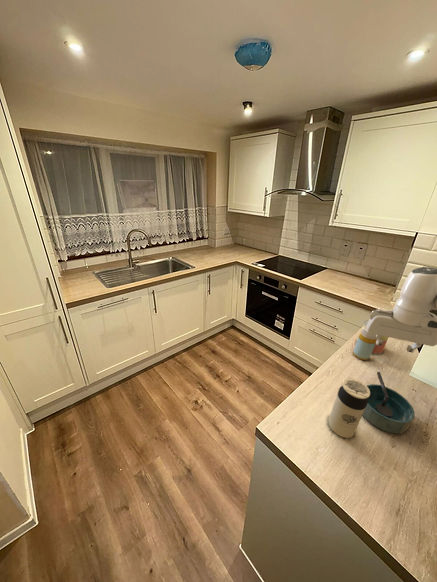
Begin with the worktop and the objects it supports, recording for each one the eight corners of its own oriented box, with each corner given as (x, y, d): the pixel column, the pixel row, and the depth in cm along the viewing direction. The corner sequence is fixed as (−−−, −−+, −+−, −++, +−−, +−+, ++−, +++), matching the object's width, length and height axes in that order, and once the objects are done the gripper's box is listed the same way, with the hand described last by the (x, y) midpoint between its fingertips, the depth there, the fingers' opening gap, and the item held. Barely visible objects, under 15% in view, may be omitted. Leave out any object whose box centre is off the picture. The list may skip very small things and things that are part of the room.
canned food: (383, 344, 119) (391, 325, 114) (382, 357, 110) (391, 336, 105) (358, 336, 124) (365, 317, 119) (356, 348, 116) (363, 327, 111)
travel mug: (330, 411, 83) (344, 373, 75) (355, 424, 79) (372, 385, 71) (325, 428, 77) (339, 389, 70) (352, 443, 73) (370, 403, 65)
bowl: (400, 403, 87) (406, 392, 85) (414, 441, 74) (421, 429, 72) (354, 390, 92) (359, 379, 89) (360, 424, 79) (366, 412, 76)
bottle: (354, 358, 109) (364, 332, 102) (351, 349, 115) (360, 323, 108) (371, 362, 107) (382, 335, 100) (367, 352, 113) (377, 326, 107)
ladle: (380, 385, 94) (386, 372, 91) (392, 422, 80) (399, 408, 77) (366, 381, 96) (371, 369, 93) (376, 417, 81) (382, 404, 78)
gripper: (374, 312, 78) (362, 345, 84) (450, 326, 72) (431, 361, 78) (371, 304, 83) (359, 335, 89) (441, 316, 77) (424, 349, 83)
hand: (393, 347), depth 83 cm, fingers open, 8 cm apart
